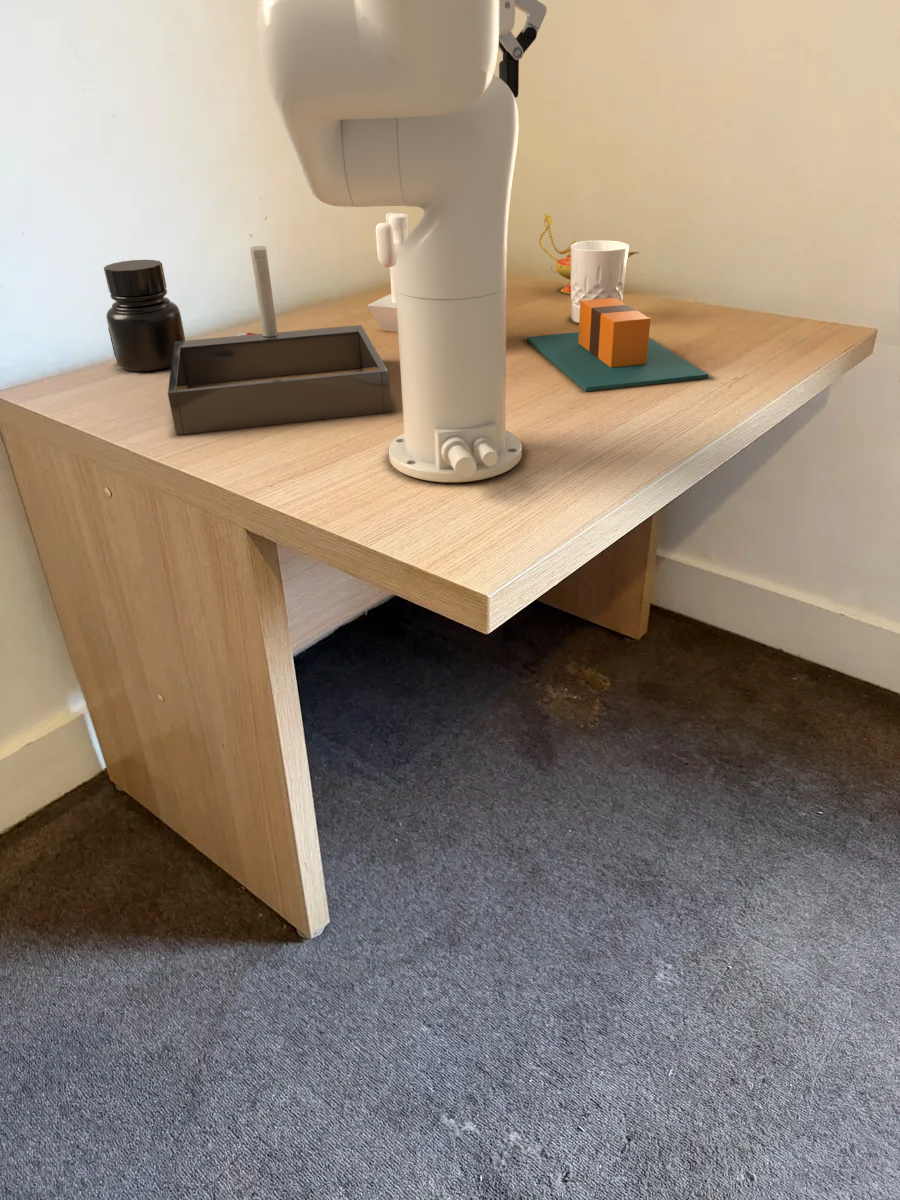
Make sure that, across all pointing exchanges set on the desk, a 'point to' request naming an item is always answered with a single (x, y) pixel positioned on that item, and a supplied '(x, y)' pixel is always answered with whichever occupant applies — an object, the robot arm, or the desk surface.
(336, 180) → the robot arm
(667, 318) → the desk surface
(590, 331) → the orange striped block
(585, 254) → the white cup
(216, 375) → the sink basin
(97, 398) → the desk surface
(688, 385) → the desk surface
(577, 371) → the mat
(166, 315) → the ink bottle
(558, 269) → the magic lamp
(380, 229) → the figurine
